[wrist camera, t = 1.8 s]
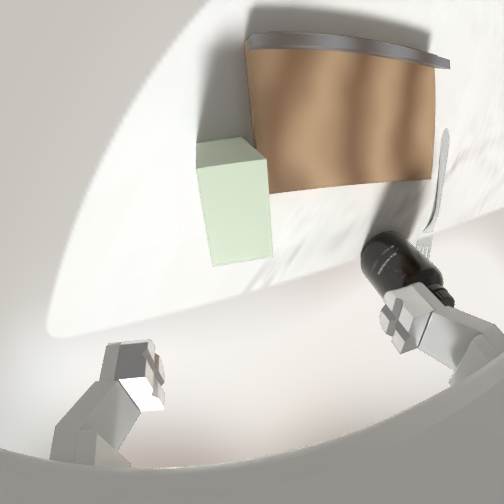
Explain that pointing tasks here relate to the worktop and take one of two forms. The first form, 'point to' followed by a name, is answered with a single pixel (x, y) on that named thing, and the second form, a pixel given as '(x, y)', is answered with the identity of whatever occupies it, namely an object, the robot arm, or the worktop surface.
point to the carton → (234, 200)
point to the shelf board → (340, 109)
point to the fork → (428, 239)
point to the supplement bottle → (400, 267)
